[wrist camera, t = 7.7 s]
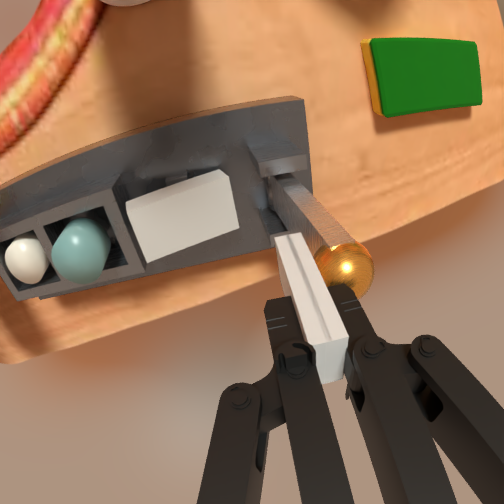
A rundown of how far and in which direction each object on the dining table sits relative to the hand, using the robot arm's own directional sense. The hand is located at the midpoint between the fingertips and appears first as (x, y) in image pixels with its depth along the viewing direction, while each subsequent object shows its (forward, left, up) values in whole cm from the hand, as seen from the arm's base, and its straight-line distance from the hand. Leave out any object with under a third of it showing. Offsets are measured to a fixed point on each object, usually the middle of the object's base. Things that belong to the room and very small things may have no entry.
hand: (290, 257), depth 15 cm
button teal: (-13, 0, -7) cm, 15 cm away
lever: (+1, 0, -8) cm, 9 cm away
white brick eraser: (-6, 0, -8) cm, 10 cm away
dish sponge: (+18, +8, -13) cm, 24 cm away
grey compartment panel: (-10, 0, -12) cm, 16 cm away
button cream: (-20, 0, -9) cm, 22 cm away
